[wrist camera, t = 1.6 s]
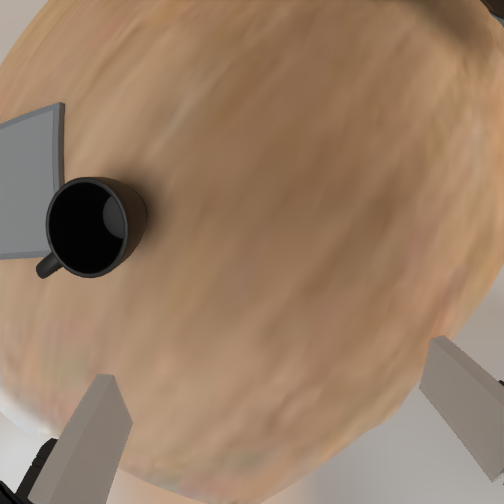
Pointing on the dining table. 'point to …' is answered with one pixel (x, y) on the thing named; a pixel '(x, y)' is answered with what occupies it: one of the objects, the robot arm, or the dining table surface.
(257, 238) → the dining table surface
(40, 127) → the slate board
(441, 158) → the dining table surface
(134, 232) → the mug
